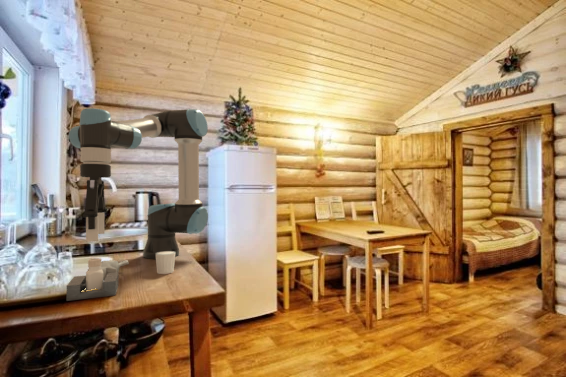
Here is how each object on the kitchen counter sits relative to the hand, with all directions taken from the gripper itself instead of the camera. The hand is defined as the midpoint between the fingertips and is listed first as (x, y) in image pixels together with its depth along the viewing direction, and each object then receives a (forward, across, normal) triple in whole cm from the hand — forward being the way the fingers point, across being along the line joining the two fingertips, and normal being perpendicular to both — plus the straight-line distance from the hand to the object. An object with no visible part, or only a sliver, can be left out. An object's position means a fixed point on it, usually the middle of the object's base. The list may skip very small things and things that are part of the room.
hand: (96, 237), depth 89 cm
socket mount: (+16, 0, 0) cm, 16 cm away
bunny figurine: (+16, -18, +1) cm, 24 cm away
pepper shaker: (+16, 0, 0) cm, 16 cm away
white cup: (+16, -16, +20) cm, 30 cm away
